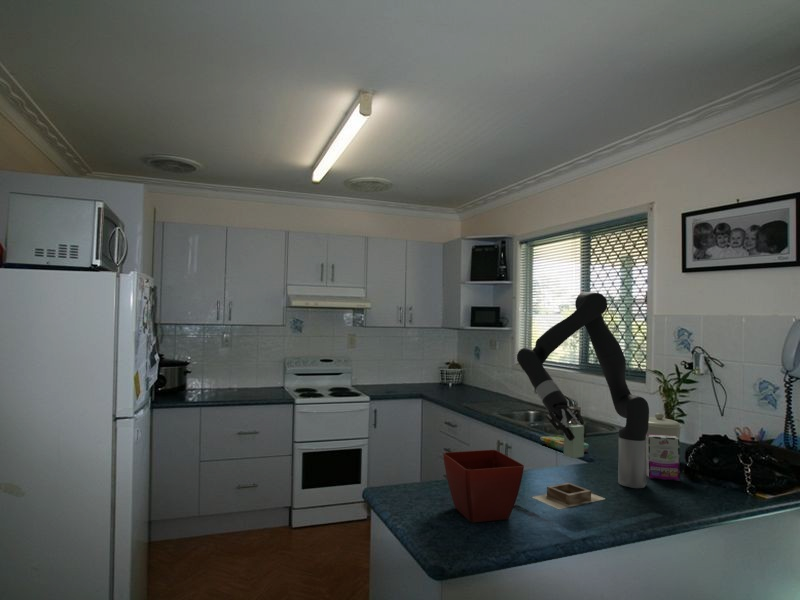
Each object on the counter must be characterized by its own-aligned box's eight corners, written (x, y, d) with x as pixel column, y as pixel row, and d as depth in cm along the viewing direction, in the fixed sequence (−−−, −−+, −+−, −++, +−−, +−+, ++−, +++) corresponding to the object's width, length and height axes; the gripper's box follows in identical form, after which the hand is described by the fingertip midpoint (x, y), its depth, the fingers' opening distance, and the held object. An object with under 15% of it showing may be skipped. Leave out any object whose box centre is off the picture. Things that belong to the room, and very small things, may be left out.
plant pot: (464, 529, 143) (466, 469, 144) (440, 505, 161) (442, 452, 162) (524, 523, 148) (525, 465, 149) (494, 500, 167) (495, 449, 167)
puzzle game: (569, 444, 230) (540, 435, 248) (569, 455, 229) (540, 444, 248) (588, 442, 234) (558, 433, 253) (588, 452, 234) (558, 443, 252)
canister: (681, 468, 211) (681, 418, 212) (634, 461, 221) (634, 413, 222) (683, 459, 227) (683, 412, 228) (639, 452, 236) (639, 407, 237)
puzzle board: (577, 492, 177) (577, 479, 178) (605, 503, 167) (606, 489, 167) (531, 501, 166) (531, 487, 167) (559, 514, 156) (559, 499, 156)
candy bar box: (676, 477, 198) (676, 435, 199) (680, 481, 193) (680, 438, 194) (645, 474, 201) (645, 433, 202) (648, 478, 196) (648, 436, 197)
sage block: (574, 453, 169) (574, 423, 169) (583, 456, 165) (584, 425, 166) (563, 455, 166) (563, 424, 167) (573, 458, 163) (573, 427, 163)
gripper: (542, 390, 170) (569, 434, 159) (571, 388, 177) (600, 430, 166) (530, 404, 174) (556, 447, 163) (560, 401, 181) (587, 442, 170)
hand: (578, 438), depth 164 cm, fingers closed on sage block, 5 cm apart
